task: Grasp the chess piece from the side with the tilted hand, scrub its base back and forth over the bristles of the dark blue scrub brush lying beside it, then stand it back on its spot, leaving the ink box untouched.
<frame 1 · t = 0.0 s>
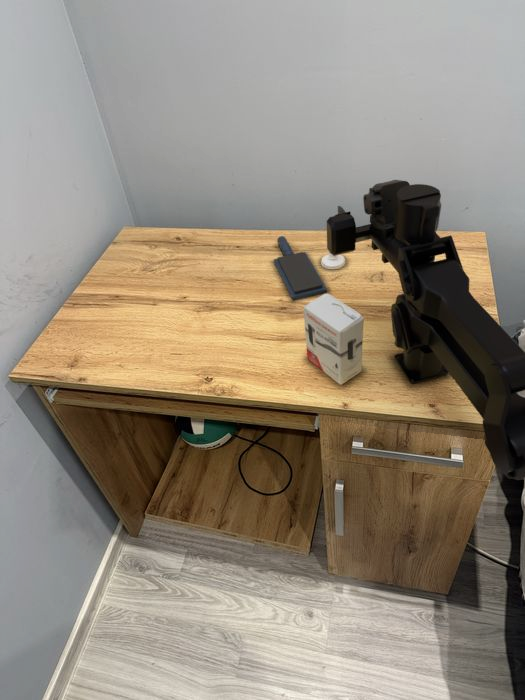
hand: (363, 202, 87), 17 cm above the table, tool horizontal, fingers open, 9 cm apart
chess piece: (333, 263, 104), on the table
ink box: (333, 365, 83), on the table
scrub brush: (299, 276, 102), on the table
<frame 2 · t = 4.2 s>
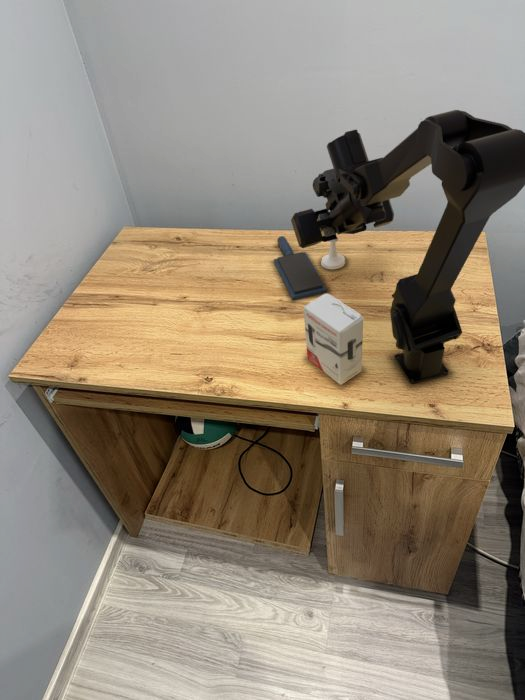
hand: (330, 231, 100), 7 cm above the table, tool tilted 45°, fingers closed on chess piece
chess piece: (333, 263, 104), on the table, touching gripper
everything else where it was.
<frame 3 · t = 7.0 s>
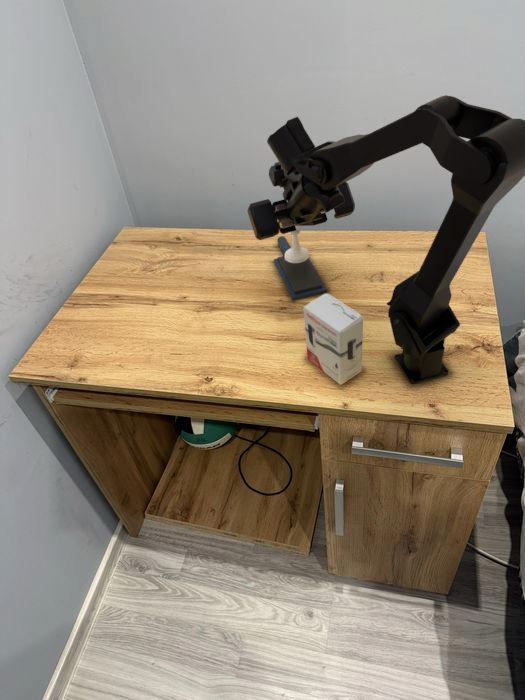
hand: (292, 224, 97), 10 cm above the table, tool tilted 45°, fingers closed on chess piece
chess piece: (296, 257, 101), point 4 cm above the table, touching gripper
everything else where it was.
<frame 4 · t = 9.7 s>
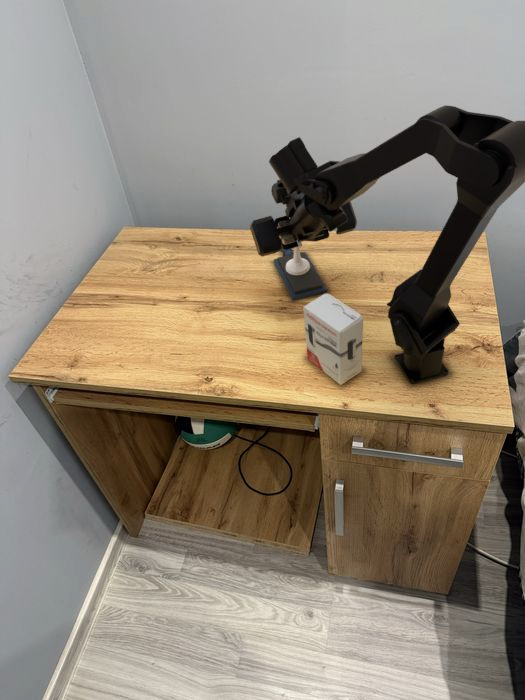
hand: (294, 239, 97), 8 cm above the table, tool tilted 45°, fingers closed on chess piece
chess piece: (297, 268, 101), point 1 cm above the table, touching gripper
everything else where it was.
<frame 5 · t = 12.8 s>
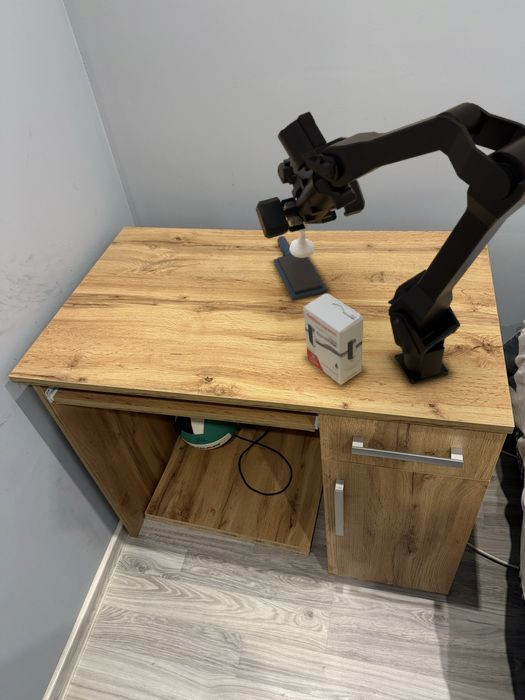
hand: (300, 222, 95), 11 cm above the table, tool tilted 45°, fingers closed on chess piece
chess piece: (301, 249, 100), point 5 cm above the table, touching gripper
everything else where it was.
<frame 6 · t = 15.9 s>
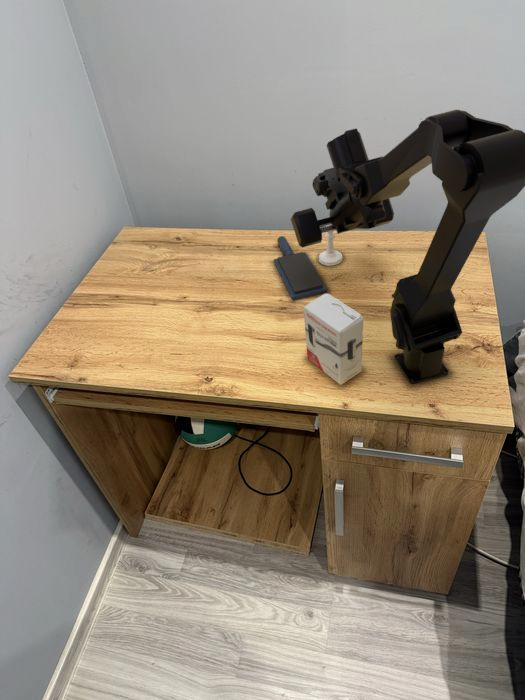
hand: (330, 231, 100), 7 cm above the table, tool tilted 45°, fingers open, 8 cm apart
chess piece: (330, 259, 105), on the table
everything else where it was.
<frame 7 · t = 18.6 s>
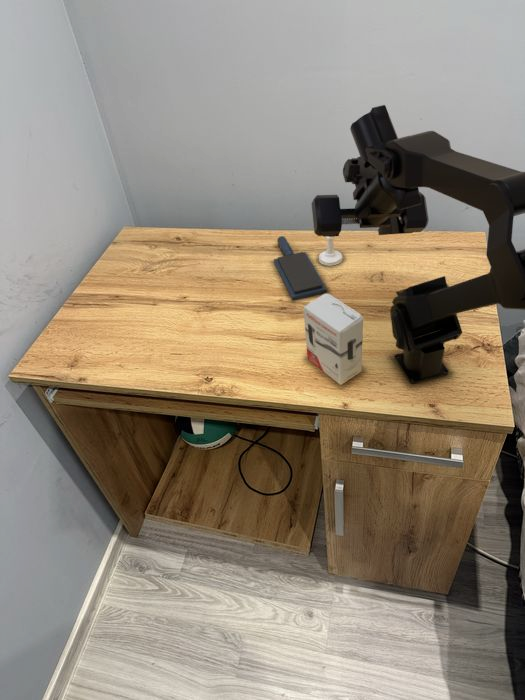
hand: (354, 233, 90), 12 cm above the table, tool tilted 40°, fingers open, 9 cm apart
nothing on the table moved.
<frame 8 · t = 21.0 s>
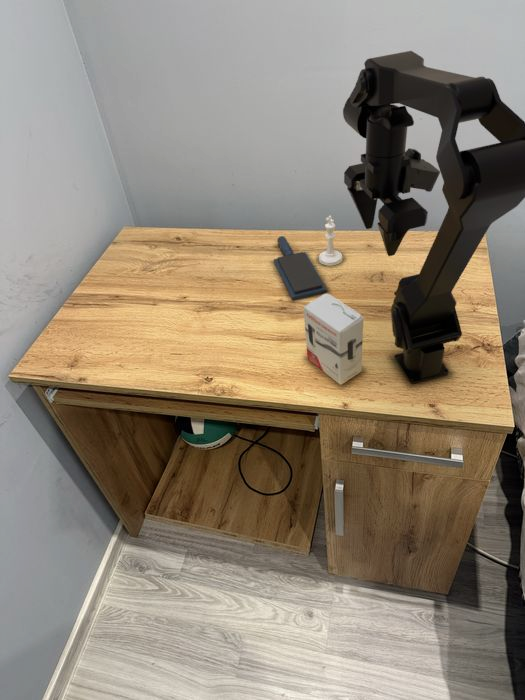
hand: (379, 241, 85), 13 cm above the table, tool pointing down, fingers open, 9 cm apart
nothing on the table moved.
at the end: chess piece inside the target area (1.5 cm from its centre), on the table; chess piece tilted 0°; ink box moved 0.2 cm from its start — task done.
